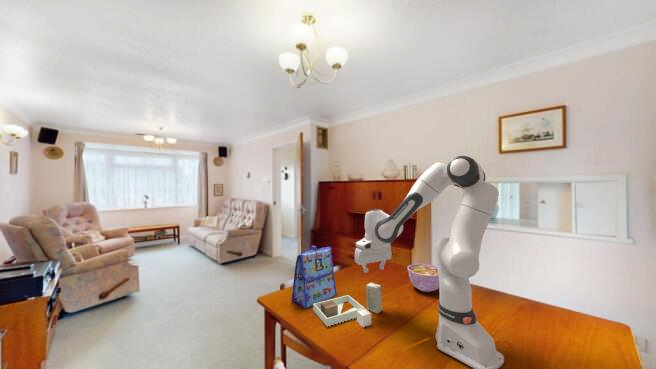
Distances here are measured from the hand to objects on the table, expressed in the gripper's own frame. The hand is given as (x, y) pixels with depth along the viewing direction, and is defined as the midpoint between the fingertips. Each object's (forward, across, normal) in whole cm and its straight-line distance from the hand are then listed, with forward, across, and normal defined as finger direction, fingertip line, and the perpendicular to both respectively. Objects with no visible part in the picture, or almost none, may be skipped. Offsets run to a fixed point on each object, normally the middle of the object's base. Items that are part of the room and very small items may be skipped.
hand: (373, 270), depth 119 cm
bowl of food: (+19, -41, -5) cm, 46 cm away
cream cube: (+20, +11, +7) cm, 23 cm away
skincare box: (+20, 0, 0) cm, 20 cm away
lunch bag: (+20, +21, -25) cm, 38 cm away
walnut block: (+19, +22, -5) cm, 29 cm away
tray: (+19, +17, -5) cm, 26 cm away
